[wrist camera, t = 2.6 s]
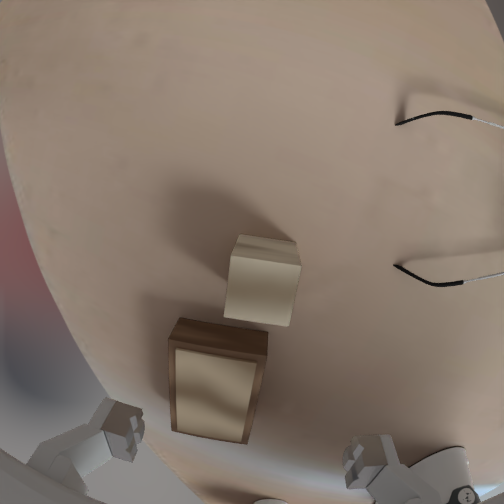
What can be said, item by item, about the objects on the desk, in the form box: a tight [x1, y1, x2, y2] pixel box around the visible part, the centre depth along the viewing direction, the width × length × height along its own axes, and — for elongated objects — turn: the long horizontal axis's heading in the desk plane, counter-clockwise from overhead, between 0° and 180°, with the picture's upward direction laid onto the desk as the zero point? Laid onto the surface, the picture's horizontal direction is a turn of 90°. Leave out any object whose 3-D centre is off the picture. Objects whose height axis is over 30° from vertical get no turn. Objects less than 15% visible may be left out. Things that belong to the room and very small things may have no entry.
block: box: [224, 234, 302, 327], centre depth 25 cm, size 5×5×6 cm
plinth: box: [168, 318, 268, 444], centre depth 30 cm, size 14×9×4 cm, turn 172°
